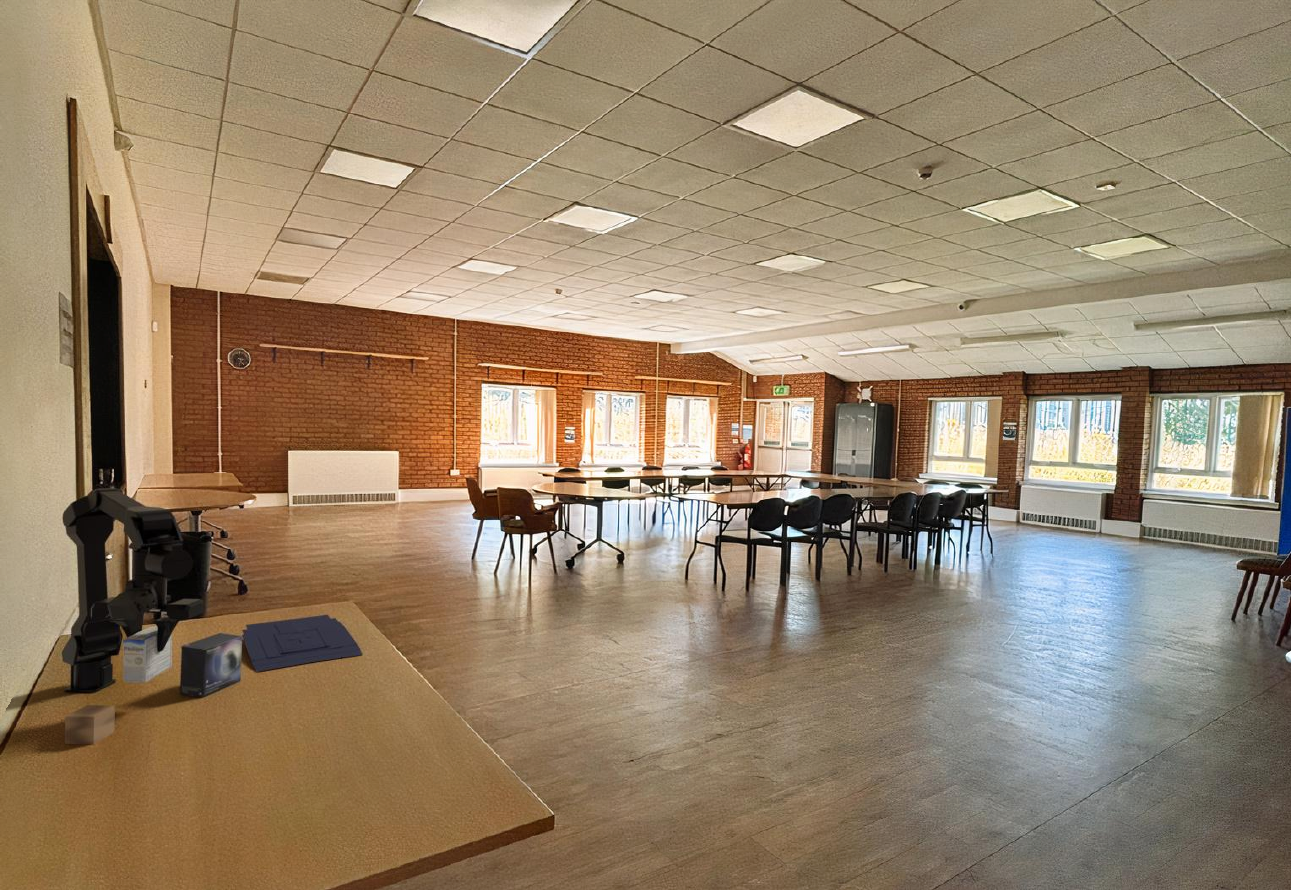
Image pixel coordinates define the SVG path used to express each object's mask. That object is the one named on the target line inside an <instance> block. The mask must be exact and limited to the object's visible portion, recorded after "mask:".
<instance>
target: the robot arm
mask: <svg viewBox="0 0 1291 890" xmlns="http://www.w3.org/2000/svg"><path fill="white" fill-rule="evenodd" d="M116 520H117V521H118V522H119V523H121V524H123V532H124V534H125V535H126V536H127V537H128V538H129V540H130V543H129V545H128V549H130V550H132V551H131V579H127V580H126V583H125V588H124V591H123V592H120V593H118V594H117V595H116V596H111V597H109V595H108V593H109V592H108V577H107V575H108V574H107V573H108V571H107V559H106V558H107V557H106V543H107V541H108V539H109V538H110V536H111V535H112V533H113V531H114V530H115V529H114V528H115V527H114V526H115V522H116ZM62 524H63V526H64V527H65V534H66V536H67V537H68V538H69V539H70V541H72V542H73V544H75V545H76V555H77V556H76V557H77V558H76V559H77V574H78V576H77V577H78V594H79V612H80V613H79V615H78V617H77V618H76V620H75V621H74V622H73V624H72V626H71V627H70V637H69V639H68V641H67V642H66V644H65V646H64V648H63V649H62V650H61V657H62V659H61V660H62V662H63V663H66V664H68V665H70V683H69V684H70V685H69V686H68V687H66V688H64V689H63V690H64V692H67V693H68V692H70V693H71V692H74V693H95V692H97V691H100V690H101V689H102V690H103V689H104V688H106V687H108V686H110V685H112V684H115V683H116V682H117V679H114V678H113V677H114V676H113V675H114V674H113V673H114V671H113V670H114V669H113V668H114V667H113V663H112V657H114V656H115V657H116V656H119V654H120V651H121V647H122V644H123V638H124V637H123V635H124V634H125V636H126V637H125V638H128V637H130V636H132V635H134V634H136V633H138V632H140V631H142V630H143V624H144V623H143V622H144V615H145V613H146V614H150V613H151V614H160V618H158V619H155V620H153V622H154V624H155V625H156V627H158V630H157V650H158V652H161V651H163V649H164V647H165V646H166V644H167V642H168V640H169V638H170V636H171V634H173V631H174V630H175V628H176V627H177V625H178V623H179V622H180V621H181V620H183V621H184V620H189V619H191V618H194V617H196V616H199V615H202V614H203V613H205V603H204V602H203V600H202V599H200V598H182V599H179V600H177V601H175V602H172V603H171V602H170V601H171V600H172V595H167V594H168V593H167V592H168V591H167V590H168V589H167V588H168V582H170V581H172V580H173V581H174V580H175V581H176V580H180V579H184V578H185V577H187V576H188V575H189V574H190V572H191V571H192V570H193V566H194V560H193V557H192V555H191V554H190V553H189V552H188V551H186V550H185V549H183V547H184V546H183V544H184V539H183V536H184V534H183V532H182V530H181V528H180V526H179V524H178V522H177V520H176V517H175V516H174V514H173V513H172V512H171V510H169V509H168V508H164V507H158V506H148V505H144V504H143V503H141V502H139V501H137V500H135V499H134V498H132V497H130V496H129V495H126V494H125V493H124V492H123V490H122V489H120V488H119V489H118V488H116V487H114V488H113V487H112V488H111V487H110V488H95V489H94V490H93V489H92V490H91V491H89V492H88V493H87V495H85V496H83V497H81V498H78V499H77V500H74V501H72V502H71V503H70V504H69V505H68V506H67V508H66V509H65V510H64V511H63V513H62ZM167 602H168V603H167ZM169 602H170V603H169ZM122 631H123V632H124V634H123V632H122Z"/></svg>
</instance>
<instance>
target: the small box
mask: <svg viewBox="0 0 1291 890" xmlns="http://www.w3.org/2000/svg"><path fill="white" fill-rule="evenodd" d="M242 646H243V637H242V635H237V634H229V633H223V632H219V633H215V634H213V635H210V636H208V637H204V638H201V639H198V640H195V641H192V642H189V643H186V644H183V645H181V650H180V651H181V655H180V656H181V657H180V678H179V679H180V680H179V682H180V683H179V692H178V693H179V695H184V696H185V695H186V696H190V697H191V696H193V697H197V698H198V697H199V698H204V697H207V696H209V695H211V694H214V693H216V692H219V691H221V690H223V689H225V688H227V687H230V686H233V685H234V684H237V683H240V682H241V678H242V651H243V650H242V649H243V647H242Z"/></svg>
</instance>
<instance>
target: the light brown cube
mask: <svg viewBox="0 0 1291 890" xmlns="http://www.w3.org/2000/svg"><path fill="white" fill-rule="evenodd" d="M115 711H116V706H115V705H99V704H98V705H97V704H96V705H94V704H86V705H85V706H82V707H81V708H79V709H76V710H75V711H73V712H71V713H69V714H67V715H65V717H64V718H65V719H64V721H65V722H64V723H65V724H64V744H66V745H67V744H68V745H70V744H71V745H94V744H96V743H98V742H100V741H101V740H103V739H105V738H106V737H108V736H111V735H112V734H114V733H115V718H116V716H115V714H116V712H115Z"/></svg>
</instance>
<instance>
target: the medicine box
mask: <svg viewBox="0 0 1291 890" xmlns="http://www.w3.org/2000/svg"><path fill="white" fill-rule="evenodd" d="M157 630H158V627H157V626H148V627H147V628H144V629H142V631H140V632H138V633H136V634H134V635H132V636H130V637H128V638H127V637H125V638H124V639H122V658H123V661H122V662H123V664H122V665H123V668H122V669H123V673H122V674H123V679H122V680H123V682H124V683H134V684H138V683H139V684H142V683H144V684H145V683H147V682H149V681H151V680H152V679H154V678H156V677H157V676H160V675H161V674H162V673H163V672H166V671H167V670H169V669H170V668H172V665H173V664H172V663H173V661H172V660H173V659H172V658H173V656H172V651H173V649H172V647H173V646H172V645H173V644H172V642H173V641H172V639H173V638H172V637H173V636H172V634H173V633H172V634H171V636H170V638H169V640H168V642H167V644H166V646H165V647H164V649H163V651H161V652H158V650H157Z"/></svg>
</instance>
